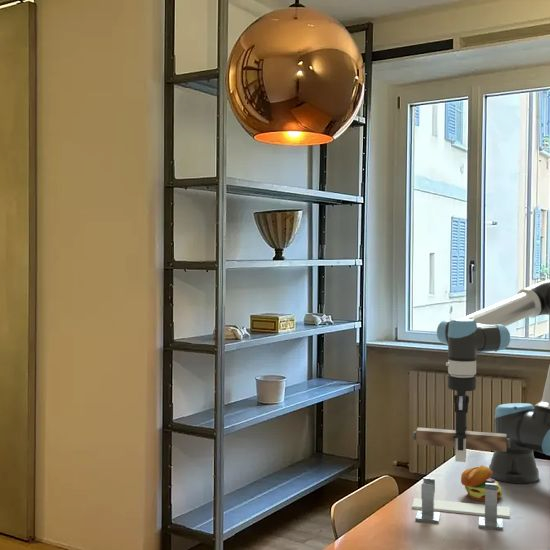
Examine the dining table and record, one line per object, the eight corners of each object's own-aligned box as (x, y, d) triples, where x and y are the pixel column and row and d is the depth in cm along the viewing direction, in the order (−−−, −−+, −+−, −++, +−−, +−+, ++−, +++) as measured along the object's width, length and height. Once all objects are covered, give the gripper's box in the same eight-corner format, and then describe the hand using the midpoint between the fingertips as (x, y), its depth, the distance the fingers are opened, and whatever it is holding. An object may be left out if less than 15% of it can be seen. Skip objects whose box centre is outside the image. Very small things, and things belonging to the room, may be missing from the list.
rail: (509, 448, 199) (510, 434, 199) (510, 452, 195) (510, 437, 195) (413, 441, 206) (414, 427, 206) (412, 444, 203) (412, 430, 203)
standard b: (502, 521, 192) (503, 484, 192) (502, 530, 186) (503, 492, 185) (479, 519, 194) (479, 482, 193) (478, 528, 187) (478, 489, 187)
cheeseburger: (505, 503, 205) (497, 469, 205) (467, 510, 207) (459, 476, 207) (501, 491, 215) (493, 458, 215) (465, 497, 217) (457, 465, 217)
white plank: (509, 509, 201) (509, 507, 201) (510, 518, 194) (510, 516, 194) (414, 500, 209) (414, 497, 209) (411, 508, 202) (411, 506, 202)
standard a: (440, 515, 197) (440, 478, 196) (438, 523, 190) (438, 486, 190) (417, 512, 198) (418, 476, 198) (415, 521, 192) (415, 484, 192)
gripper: (449, 369, 209) (448, 450, 210) (446, 379, 193) (445, 466, 194) (476, 371, 207) (475, 452, 208) (475, 380, 191) (474, 469, 192)
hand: (460, 459), depth 201 cm, fingers closed on rail, 3 cm apart
